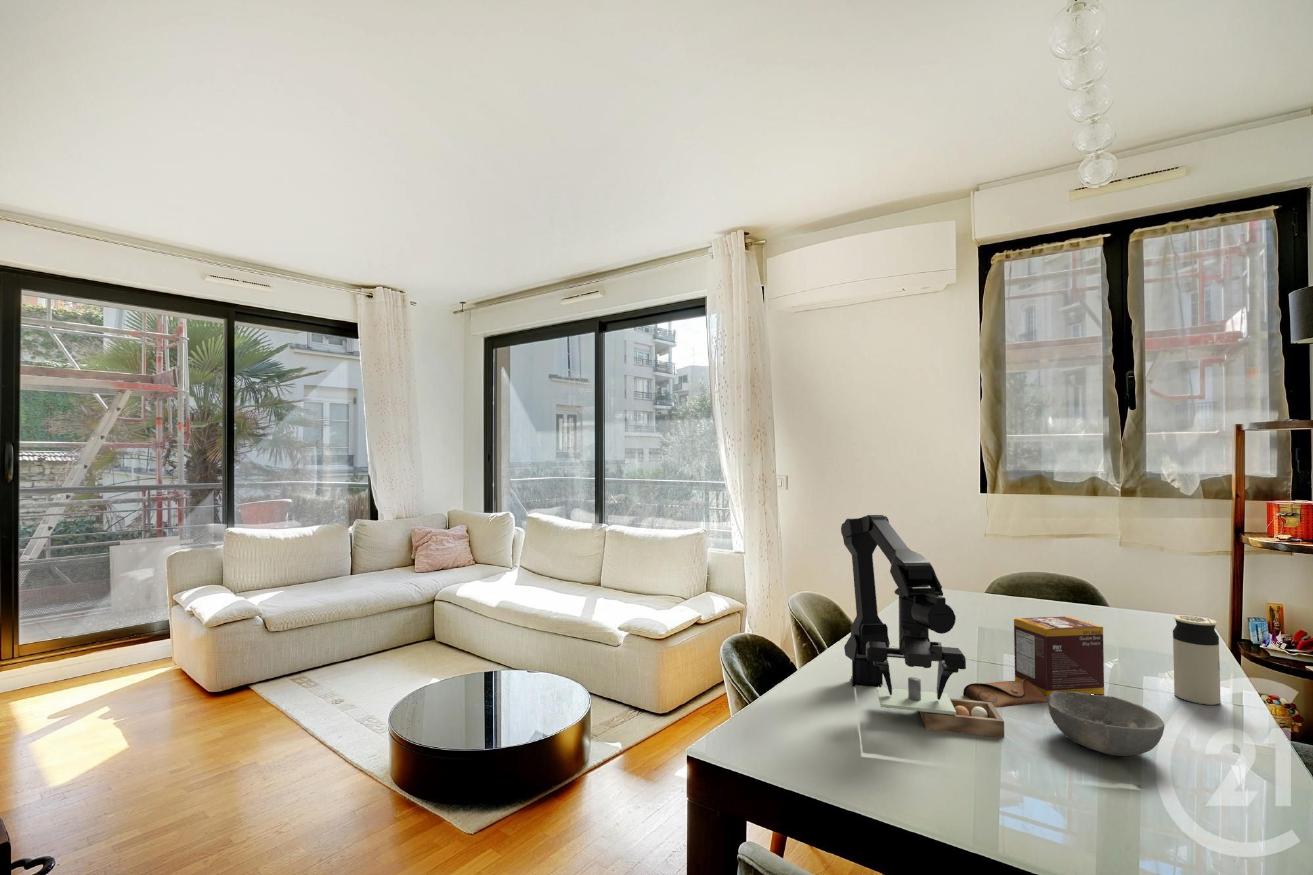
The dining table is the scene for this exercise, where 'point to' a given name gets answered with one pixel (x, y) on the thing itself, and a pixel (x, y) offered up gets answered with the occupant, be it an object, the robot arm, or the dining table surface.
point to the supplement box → (1059, 654)
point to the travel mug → (1196, 660)
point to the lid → (915, 699)
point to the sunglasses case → (1005, 693)
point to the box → (966, 720)
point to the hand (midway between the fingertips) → (914, 696)
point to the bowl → (1105, 723)
